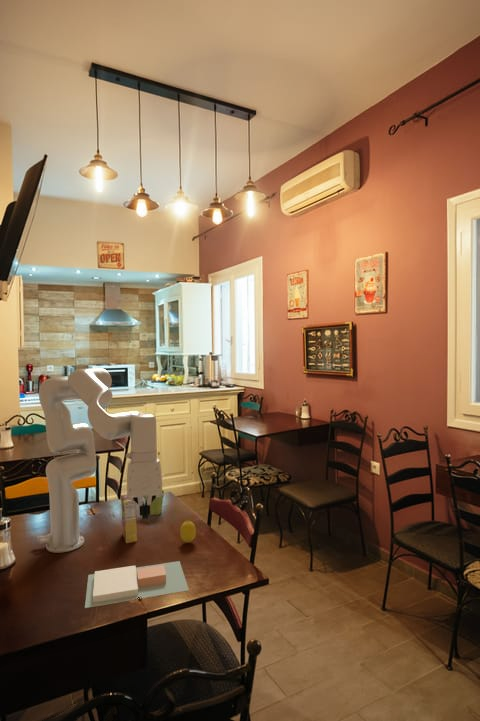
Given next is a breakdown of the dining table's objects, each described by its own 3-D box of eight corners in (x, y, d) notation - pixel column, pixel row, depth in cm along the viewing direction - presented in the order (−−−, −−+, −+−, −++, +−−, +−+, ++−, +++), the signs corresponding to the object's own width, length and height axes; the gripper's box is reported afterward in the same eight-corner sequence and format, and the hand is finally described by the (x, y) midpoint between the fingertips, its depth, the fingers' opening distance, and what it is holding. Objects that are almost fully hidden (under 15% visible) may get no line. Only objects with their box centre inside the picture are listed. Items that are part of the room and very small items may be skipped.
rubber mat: (84, 609, 116) (84, 608, 116) (88, 575, 133) (88, 574, 133) (188, 591, 124) (188, 590, 124) (179, 561, 141) (179, 561, 141)
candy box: (121, 534, 163) (120, 493, 163) (133, 532, 165) (132, 492, 164) (125, 543, 155) (124, 501, 154) (137, 541, 156) (136, 499, 156)
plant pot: (154, 518, 177) (154, 497, 177) (138, 514, 182) (137, 494, 182) (170, 511, 185) (169, 491, 185) (153, 507, 190) (153, 487, 190)
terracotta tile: (138, 587, 125) (138, 579, 125) (137, 577, 131) (136, 569, 131) (166, 582, 128) (166, 574, 128) (163, 573, 133) (163, 564, 133)
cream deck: (93, 602, 118) (92, 596, 118) (95, 576, 132) (94, 571, 132) (138, 594, 122) (138, 588, 121) (135, 570, 135) (135, 565, 135)
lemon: (198, 541, 156) (198, 519, 156) (190, 547, 151) (190, 524, 151) (185, 538, 158) (185, 516, 158) (177, 544, 153) (176, 522, 153)
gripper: (117, 461, 123) (118, 525, 123) (170, 457, 127) (171, 519, 128) (117, 455, 130) (118, 515, 131) (167, 451, 134) (168, 510, 135)
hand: (144, 517), depth 129 cm, fingers closed
